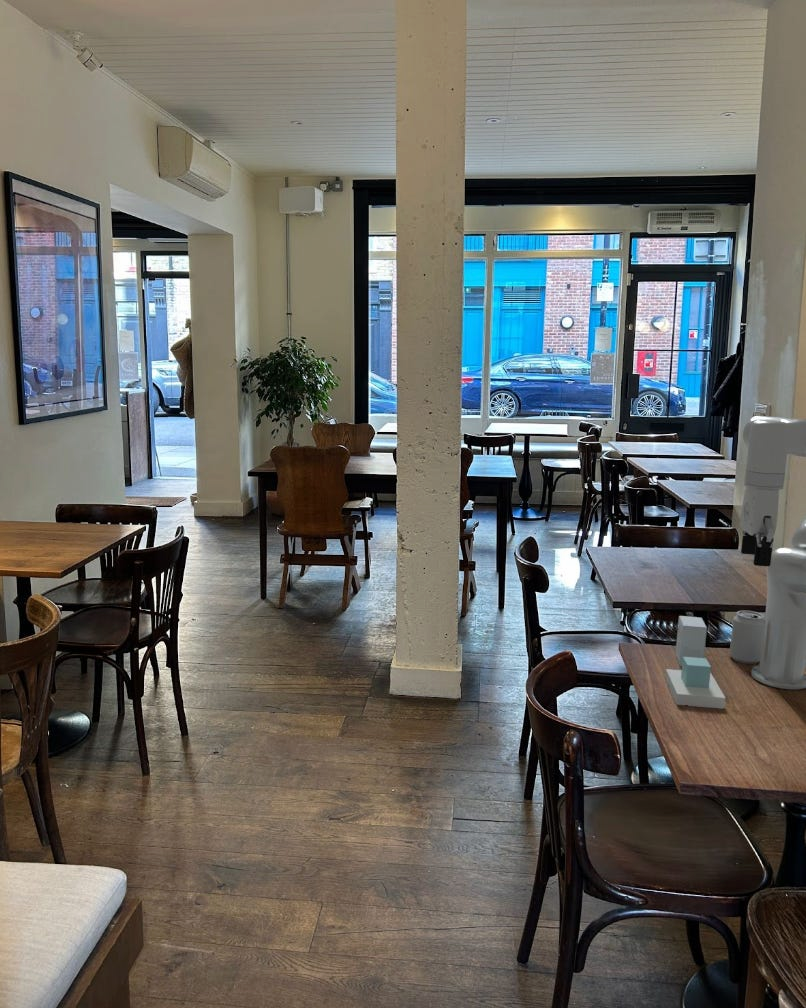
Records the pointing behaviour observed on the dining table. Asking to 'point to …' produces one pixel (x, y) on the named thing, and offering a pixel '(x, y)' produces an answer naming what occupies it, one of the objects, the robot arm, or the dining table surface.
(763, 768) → the dining table surface
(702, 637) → the small box
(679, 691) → the plate
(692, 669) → the teal cube
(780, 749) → the dining table surface
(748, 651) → the can
